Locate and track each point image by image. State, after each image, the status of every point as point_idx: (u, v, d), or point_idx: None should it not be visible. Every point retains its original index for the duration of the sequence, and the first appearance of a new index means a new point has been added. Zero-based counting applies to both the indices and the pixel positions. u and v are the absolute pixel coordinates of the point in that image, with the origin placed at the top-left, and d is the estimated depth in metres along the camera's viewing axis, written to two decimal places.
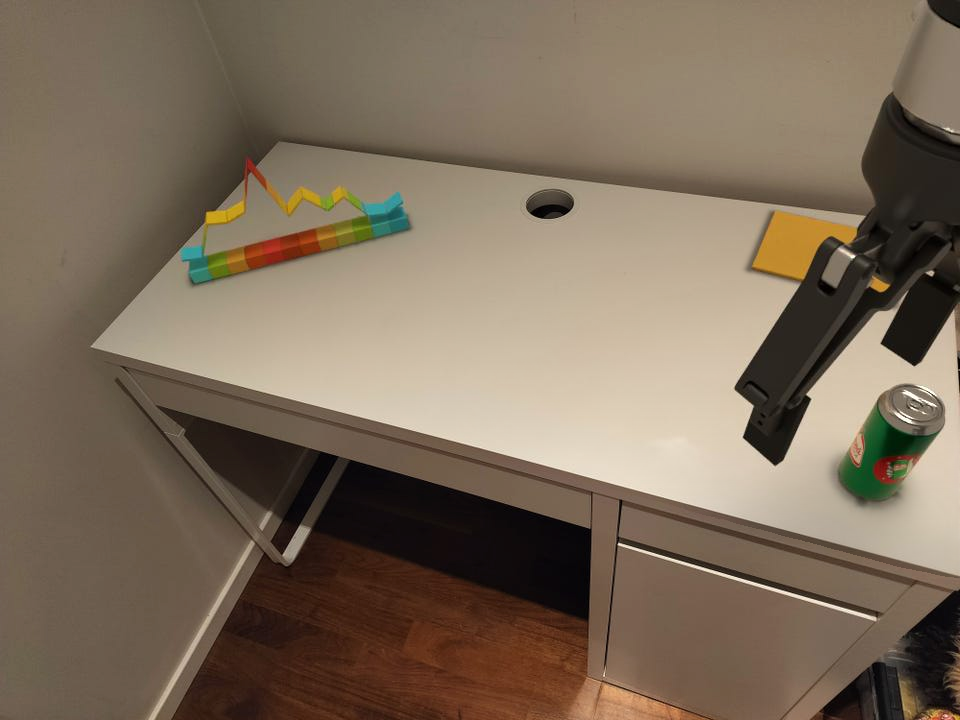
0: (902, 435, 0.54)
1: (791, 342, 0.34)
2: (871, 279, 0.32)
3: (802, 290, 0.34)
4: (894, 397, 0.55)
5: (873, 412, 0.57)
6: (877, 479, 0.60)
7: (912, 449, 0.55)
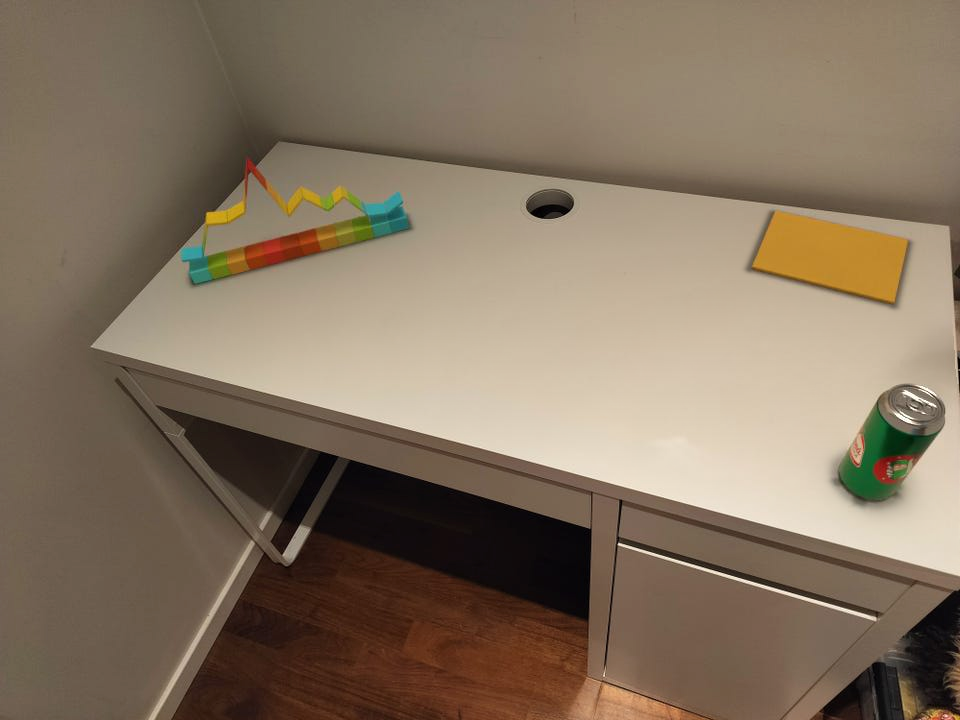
0: (902, 435, 0.54)
1: None
2: None
3: None
4: (894, 397, 0.55)
5: (873, 412, 0.57)
6: (876, 479, 0.60)
7: (912, 449, 0.55)
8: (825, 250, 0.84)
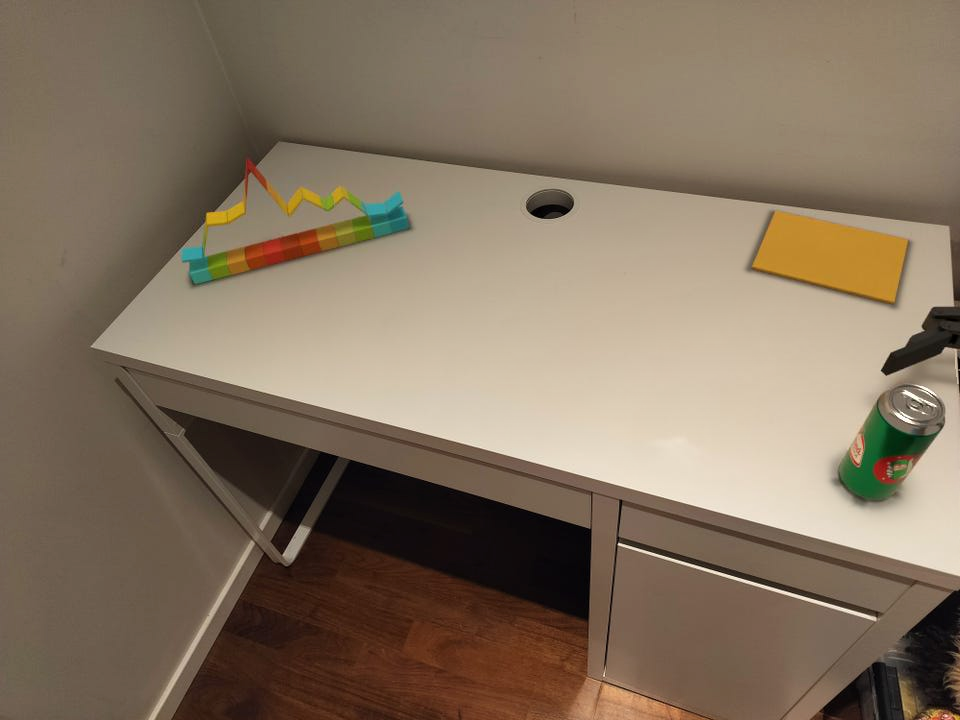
0: (902, 435, 0.54)
1: None
2: None
3: None
4: (894, 397, 0.55)
5: (873, 412, 0.57)
6: (876, 479, 0.60)
7: (912, 449, 0.55)
8: (825, 250, 0.84)
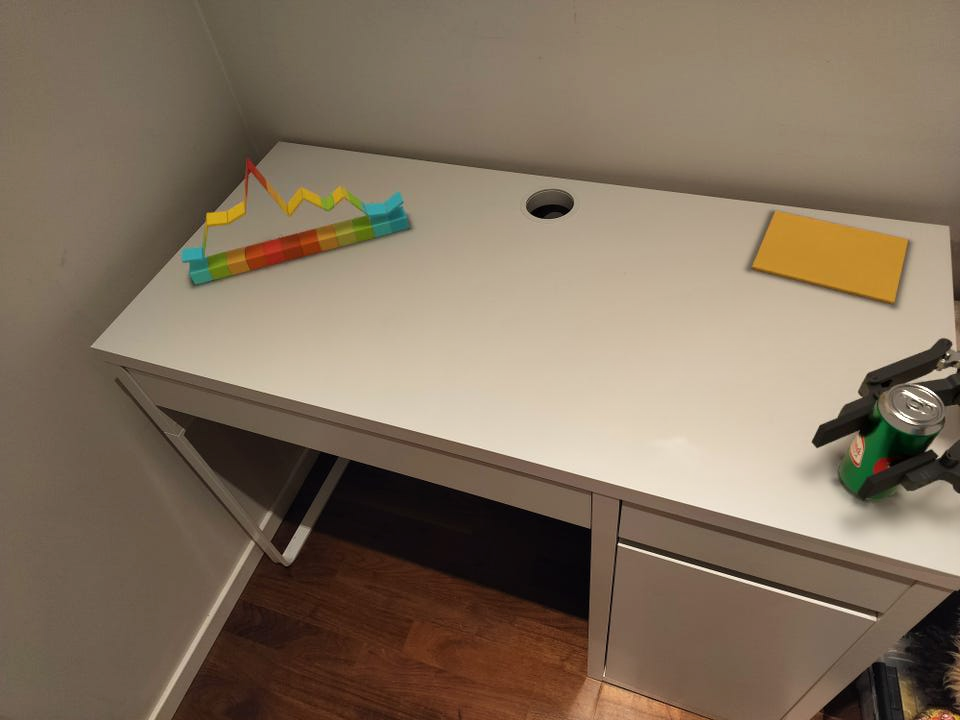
0: (902, 435, 0.54)
1: None
2: (949, 351, 0.63)
3: None
4: (894, 397, 0.55)
5: (873, 412, 0.57)
6: None
7: (912, 449, 0.55)
8: (825, 250, 0.84)
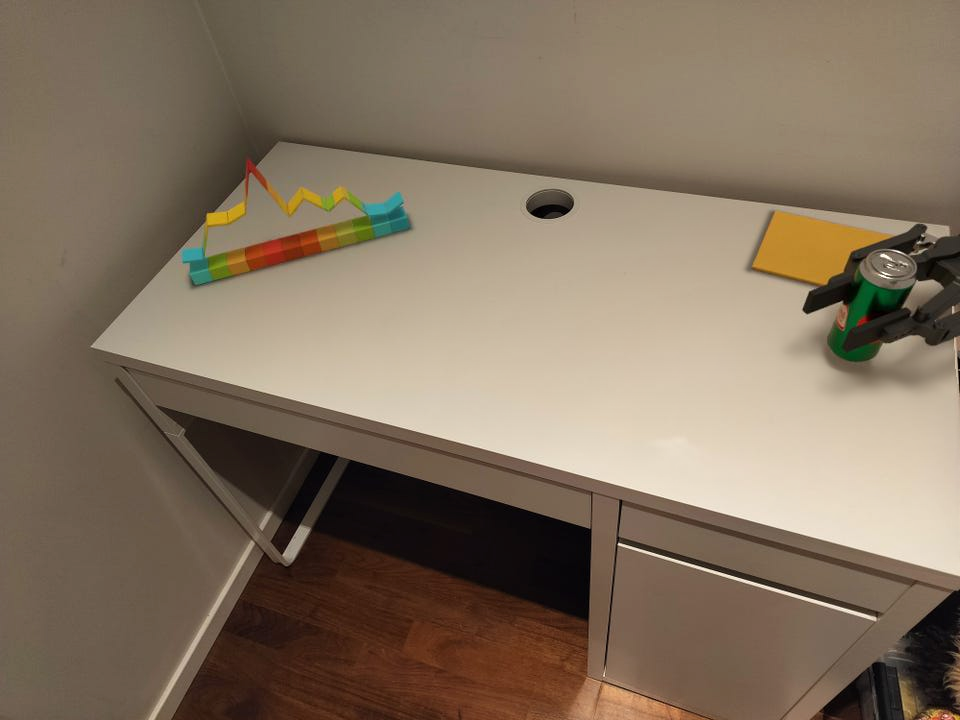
0: (879, 290, 0.63)
1: None
2: (924, 233, 0.71)
3: None
4: (873, 259, 0.64)
5: (855, 275, 0.65)
6: None
7: (889, 304, 0.64)
8: (825, 250, 0.84)
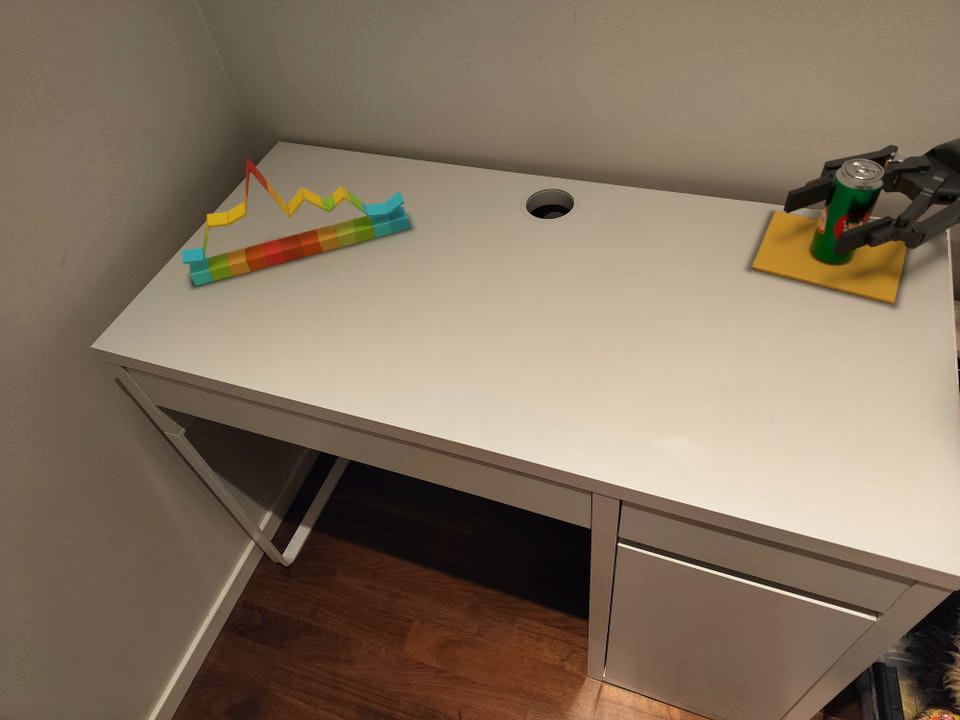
0: (852, 191, 0.74)
1: None
2: (894, 152, 0.83)
3: None
4: (847, 167, 0.75)
5: (832, 182, 0.77)
6: (836, 240, 0.79)
7: (861, 204, 0.75)
8: None
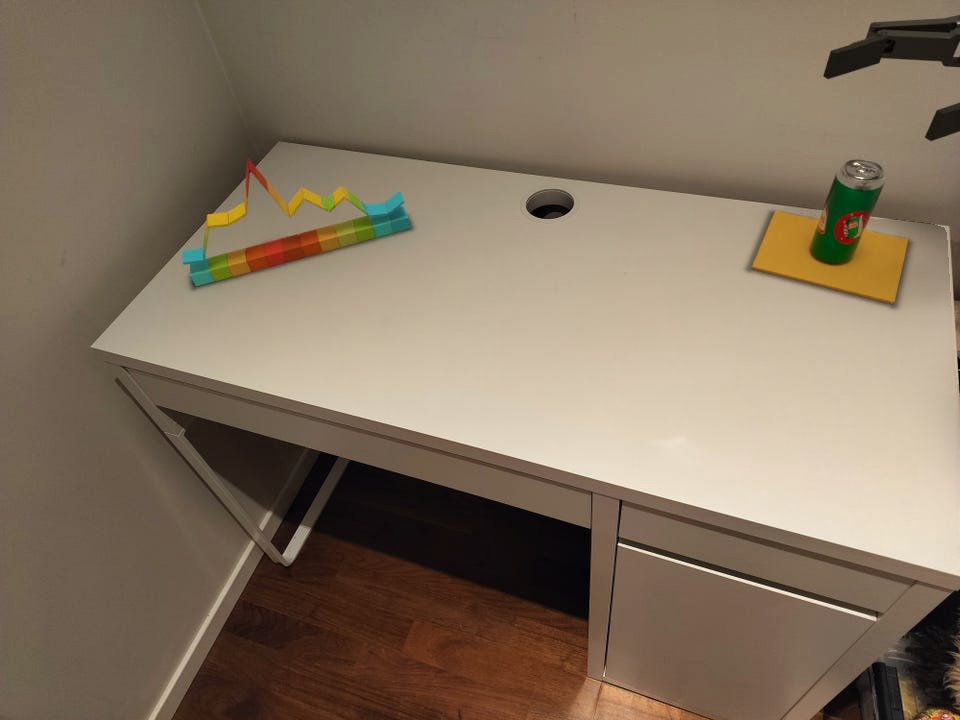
0: (853, 191, 0.74)
1: None
2: None
3: None
4: (847, 167, 0.75)
5: (833, 182, 0.77)
6: (837, 240, 0.79)
7: (861, 205, 0.75)
8: None
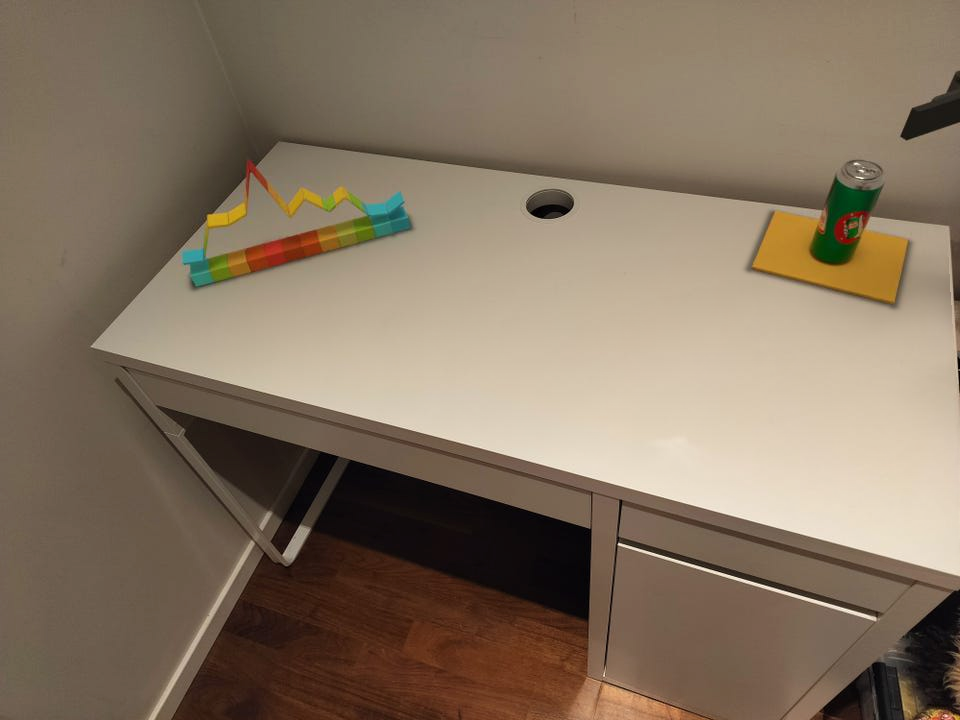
0: (853, 191, 0.74)
1: None
2: None
3: None
4: (847, 167, 0.75)
5: (833, 182, 0.77)
6: (837, 240, 0.79)
7: (861, 205, 0.75)
8: None
